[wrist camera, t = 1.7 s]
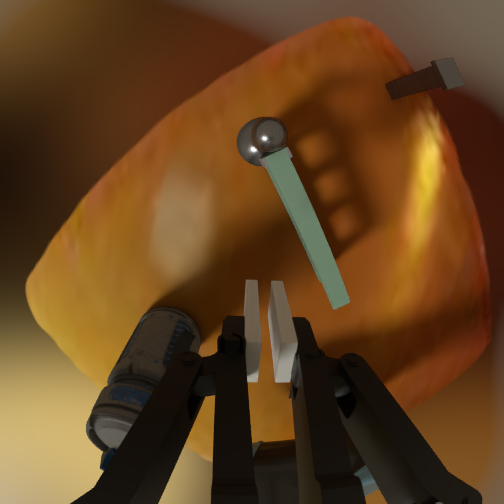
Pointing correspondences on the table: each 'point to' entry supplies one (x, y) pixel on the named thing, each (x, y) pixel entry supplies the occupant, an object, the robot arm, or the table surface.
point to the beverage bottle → (139, 375)
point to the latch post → (427, 79)
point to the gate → (305, 223)
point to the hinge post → (261, 138)
